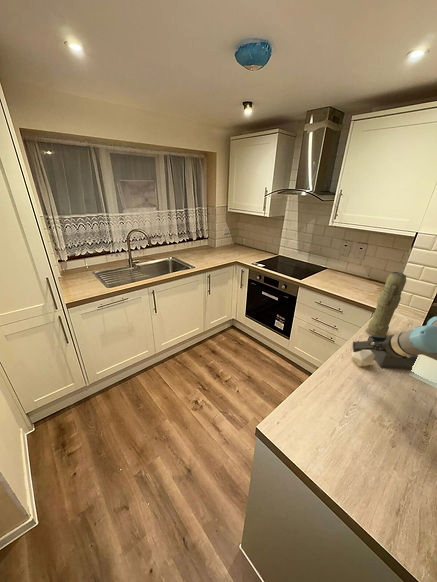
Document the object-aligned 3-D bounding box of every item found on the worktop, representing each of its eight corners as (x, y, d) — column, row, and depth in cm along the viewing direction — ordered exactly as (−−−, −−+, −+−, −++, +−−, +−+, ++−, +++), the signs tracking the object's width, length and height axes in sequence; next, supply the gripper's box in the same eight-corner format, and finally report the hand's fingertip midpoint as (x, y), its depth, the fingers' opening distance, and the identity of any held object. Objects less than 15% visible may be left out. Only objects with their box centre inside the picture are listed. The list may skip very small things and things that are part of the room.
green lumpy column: (385, 330, 131) (409, 272, 116) (385, 341, 122) (411, 279, 107) (367, 325, 135) (388, 268, 120) (366, 335, 126) (388, 275, 111)
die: (358, 355, 112) (350, 340, 109) (380, 356, 105) (371, 341, 102) (354, 369, 108) (345, 355, 105) (376, 372, 101) (367, 356, 98)
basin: (393, 348, 117) (398, 337, 114) (413, 369, 104) (419, 357, 101) (364, 346, 117) (369, 335, 114) (380, 367, 104) (385, 355, 102)
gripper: (361, 349, 78) (339, 355, 98) (447, 363, 73) (406, 366, 93) (361, 327, 81) (339, 337, 100) (444, 340, 76) (405, 347, 96)
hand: (371, 351), depth 97 cm, fingers open, 13 cm apart
